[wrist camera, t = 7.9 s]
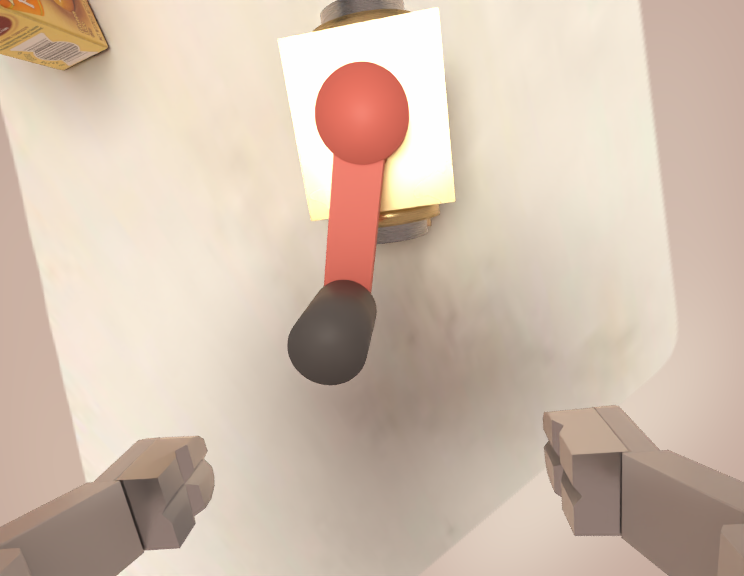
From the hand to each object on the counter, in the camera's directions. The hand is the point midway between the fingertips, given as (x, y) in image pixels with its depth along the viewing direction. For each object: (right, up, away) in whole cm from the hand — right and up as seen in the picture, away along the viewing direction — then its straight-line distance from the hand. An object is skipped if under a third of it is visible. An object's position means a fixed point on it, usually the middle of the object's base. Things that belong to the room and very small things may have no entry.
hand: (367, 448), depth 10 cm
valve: (+1, +14, +17) cm, 22 cm away
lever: (-1, +7, +8) cm, 11 cm away
